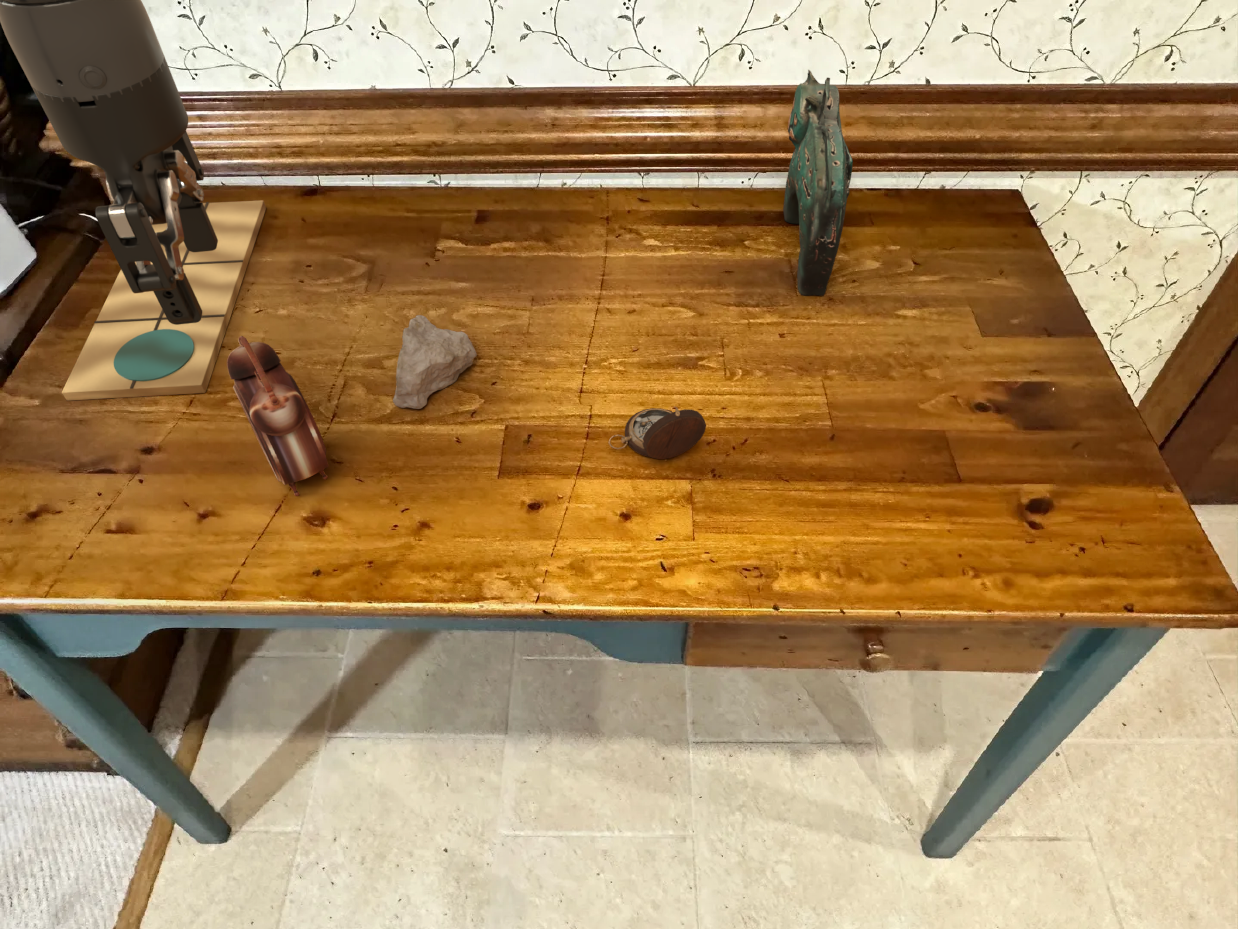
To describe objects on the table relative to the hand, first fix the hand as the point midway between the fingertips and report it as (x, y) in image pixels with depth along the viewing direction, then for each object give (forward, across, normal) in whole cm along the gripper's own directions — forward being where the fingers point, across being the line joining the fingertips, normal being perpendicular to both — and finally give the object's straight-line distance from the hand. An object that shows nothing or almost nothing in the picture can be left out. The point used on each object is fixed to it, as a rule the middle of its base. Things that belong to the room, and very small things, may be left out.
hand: (196, 283), depth 64 cm
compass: (+24, 0, +34) cm, 42 cm away
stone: (+24, -13, +13) cm, 30 cm away
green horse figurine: (+24, -28, +59) cm, 70 cm away
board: (+24, -32, -15) cm, 43 cm away
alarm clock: (+24, -3, +1) cm, 24 cm away
